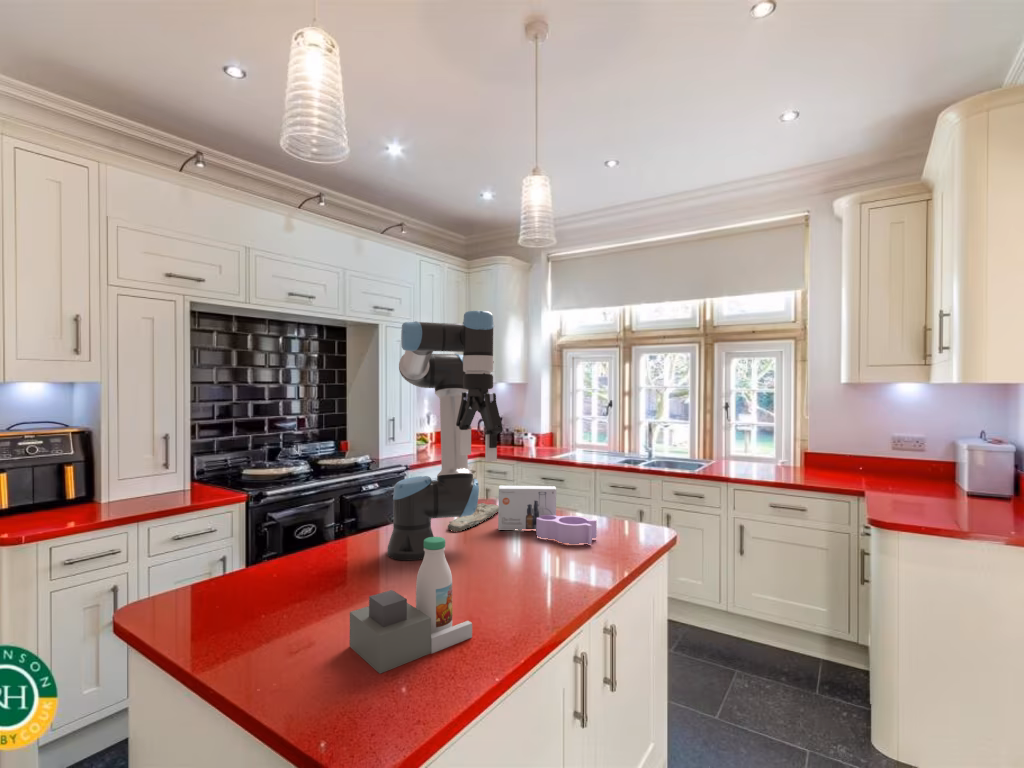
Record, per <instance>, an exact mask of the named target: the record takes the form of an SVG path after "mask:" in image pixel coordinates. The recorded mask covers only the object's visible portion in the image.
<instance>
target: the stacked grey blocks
mask: <svg viewBox="0 0 1024 768" xmlns="http://www.w3.org/2000/svg"><path fill="white" fill-rule="evenodd" d="M407 599H408V598H406V597H404V596H402V595H401V594H399V593H397V592H396V591H395V590H393V589H390V590H387V591H384V592H380V593H376V594H372V595H369V596H368V606H365V607H362V608H358V609H356V610H355V609H354V610H352V611H349V647H350V648H351V650H353V651H354V652H355V653H356V654H357V655H358V656H359V657H360V658H362V659H363V660H364V661H365V662H366V664H367V663H368V664H369V666H371V668H373V669H374V670H375V671H376V672H377V673H378V674H382V673H383V674H384V673H385V672H388V671H390V670H393V669H395V668H398V667H400V666H403V665H404V664H407V663H410V662H413V661H415V660H418V659H419V658H422V657H425V656H428V655H430V654H431V655H432V654H435V653H437V652H439V651H442V650H444V649H447V648H450V647H452V646H454V645H457V644H459V643H462V642H464V641H466V640H469V639H471V638H473V623H472V622H471V621H469V620H466V621H464V622H461V623H458V624H456V625H452V627H449V628H447V629H444V630H441V631H439V632H436V633H433V634H431V617H429V616H427V615H426V614H424V613H423V612H421V611H420V610H418V609H416V606H413V605H412V604H411V603H408V600H407Z"/></svg>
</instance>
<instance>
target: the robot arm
mask: <svg viewBox="0 0 1024 768" xmlns="http://www.w3.org/2000/svg"><path fill="white" fill-rule="evenodd" d="M494 328H495V325H494V315H493V314H492V312H490V311H487V310H469V311H466V312H465V313H463V321H462V323H457V322H456V323H455V322H454V323H450V322H449V323H448V322H428V321H427V322H426V321H425V322H424V321H405V322H403V323H402V325H401V331H400V332H401V334H400V339H401V340H400V341H401V350H404V354H403V355H402V356H401V357H400V359H399V362H398V371H399V373H400V375H401V377H402V378H403V379H404V380H405V381H406V382H407V383H409V384H411V385H413V386H415V387H419V388H423V389H434V394H435V396H437V398H439V414H440V415H439V416H440V423H439V424H440V449H441V450H440V452H441V453H440V454H441V455H440V457H441V469H440V471H439V472H438V473H437V475H436V479H437V480H432V477H430V476H428V475H420V476H413V477H408V478H407V477H406V478H404V479H401V480H399V481H397V482H396V483H395V484H394V486H393V496H392V499H393V518H392V519H393V522H392V523H393V525H392V526H393V528H392V531H391V535H390V538H389V541H388V545H387V556H388V557H389V558H391V559H393V560H398V561H417V560H423V559H424V555H425V551H424V540H425V539H426V538H429V537H435V536H434V534H433V529H432V526H431V525H432V519H444V518H445V519H447V518H459V517H462V516H470V515H472V514H473V513H474V512H475V510H476V507H477V503H478V502H479V494H480V493H479V492H480V486H479V481H478V479H477V478H474V473H473V472H472V471H471V470H470V469H469V462H468V461H469V460H468V459H469V458H468V455H469V456H471V455H472V428H473V427H472V426H471V424H472V423H473V420H474V418H475V416H476V414H477V412H478V413H479V414H480V416H481V420H482V422H483V425H484V427H485V430H486V432H485V433H484V434H485V440H484V441H485V454H484V455H485V458H484V459H485V460H484V461H485V463H492V462H497V460H498V455H497V454H498V450H497V449H498V435H499V433H502V432H503V431H504V430H503V424H502V420H501V417H500V416H501V415H500V413H499V409H498V408H499V407H498V403H497V395H496V392H489V390H491V389H492V390H493V388H494V375H493V374H492V373H493V372H494ZM433 352H450V353H433ZM451 352H453V353H451ZM456 352H457V353H456ZM458 353H463V354H458ZM478 504H479V503H478Z"/></svg>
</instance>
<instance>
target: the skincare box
mask: <svg viewBox="0 0 1024 768" xmlns="http://www.w3.org/2000/svg"><path fill="white" fill-rule="evenodd" d="M497 504H498V513H497V514H498V516H497V517H498V518H497V519H498V521H497V524H498V525H497V528H498V530H515V529H518V530H522V529H536V518H540V515H556V516H557V487H556V486H554V485H499V486H498V503H497Z"/></svg>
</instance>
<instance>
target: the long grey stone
mask: <svg viewBox="0 0 1024 768" xmlns="http://www.w3.org/2000/svg"><path fill="white" fill-rule="evenodd" d="M496 512H498V505H497V504H490V503H488V504H487V503H485V502H484V503H483V502H480V503H477V507H476V510H475V512H474V513H473V514H472V515H470V516H462V517H456V518H454V519H453V520H451V521H449V524H448V525H447V529H450V530H452V531H462V530H464V531H466V530H468V529H467V528H469V529H471V528H474V527H476V526H478V525H480V524H479V523H480V522H482V521H484V520H485V521H487V520H488V519H487V518H489V517H491V516H492V517H494V516H493V515H494V514H495V513H496ZM492 517H491V518H492ZM486 519H487V520H486ZM477 524H478V525H477ZM475 525H476V526H475ZM473 526H474V527H473ZM470 527H471V528H470ZM465 529H466V530H465ZM462 532H463V531H462Z"/></svg>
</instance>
